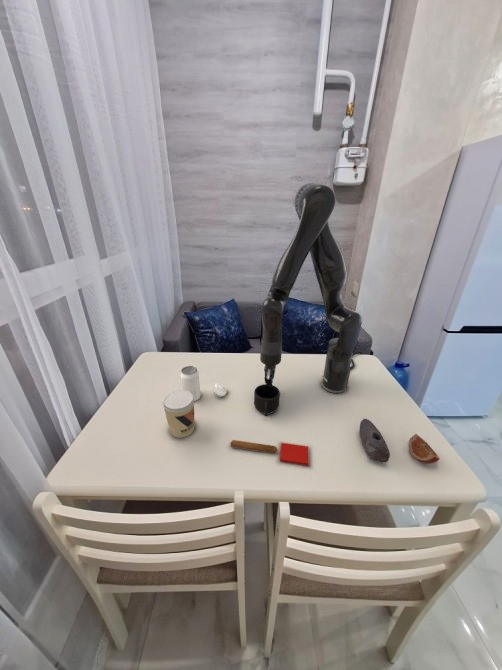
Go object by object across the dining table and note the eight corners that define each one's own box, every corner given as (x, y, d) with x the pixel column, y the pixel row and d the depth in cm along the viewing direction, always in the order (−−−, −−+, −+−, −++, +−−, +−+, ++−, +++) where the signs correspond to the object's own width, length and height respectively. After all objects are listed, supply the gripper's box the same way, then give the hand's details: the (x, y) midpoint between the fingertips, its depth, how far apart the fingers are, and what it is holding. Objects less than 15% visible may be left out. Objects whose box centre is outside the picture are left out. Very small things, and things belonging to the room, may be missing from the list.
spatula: (228, 453, 77) (228, 448, 76) (232, 437, 82) (232, 433, 81) (308, 466, 73) (309, 461, 72) (307, 448, 79) (308, 443, 78)
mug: (254, 398, 99) (255, 383, 96) (278, 400, 99) (279, 384, 96) (252, 421, 88) (252, 404, 85) (279, 423, 88) (280, 406, 85)
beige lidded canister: (182, 444, 79) (178, 413, 74) (161, 431, 84) (155, 402, 79) (203, 425, 87) (200, 396, 81) (182, 414, 91) (178, 386, 86)
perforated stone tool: (353, 427, 87) (357, 410, 84) (369, 428, 86) (374, 411, 83) (368, 467, 73) (374, 449, 70) (388, 468, 73) (394, 450, 70)
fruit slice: (401, 445, 80) (406, 433, 78) (423, 444, 80) (428, 432, 78) (418, 469, 73) (423, 457, 70) (442, 469, 73) (448, 456, 71)
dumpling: (213, 390, 104) (214, 381, 103) (226, 392, 105) (227, 383, 104) (211, 398, 97) (213, 389, 96) (225, 400, 98) (227, 391, 97)
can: (196, 403, 96) (194, 376, 91) (180, 400, 98) (176, 373, 92) (203, 392, 102) (200, 366, 97) (187, 390, 103) (184, 364, 98)
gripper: (280, 360, 87) (277, 401, 94) (283, 342, 98) (280, 380, 106) (257, 357, 88) (256, 398, 95) (263, 340, 99) (261, 378, 107)
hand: (268, 389), depth 100 cm, fingers closed
